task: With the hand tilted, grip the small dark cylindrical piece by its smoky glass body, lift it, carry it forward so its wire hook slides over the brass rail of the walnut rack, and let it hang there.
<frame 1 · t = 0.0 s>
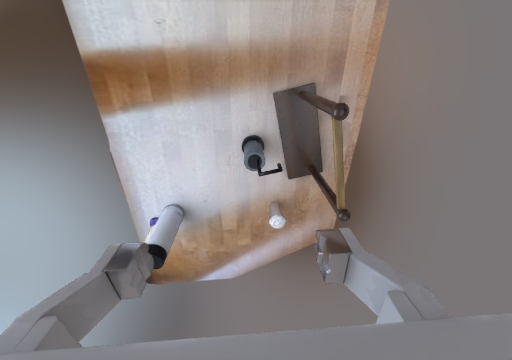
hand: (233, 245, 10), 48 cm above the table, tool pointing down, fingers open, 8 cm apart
rack: (306, 133, 57), on the table
dark cylindrical piece: (252, 146, 58), on the table
toy lamp: (158, 222, 69), on the table
milkshake: (275, 204, 68), on the table
travel mug: (174, 211, 67), on the table
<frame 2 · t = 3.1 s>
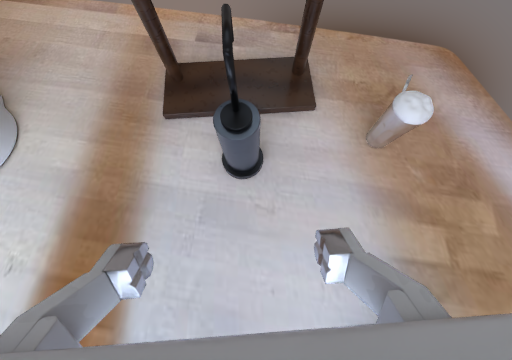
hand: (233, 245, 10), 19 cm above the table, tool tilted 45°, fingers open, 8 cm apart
rack: (238, 79, 36), on the table
dark cylindrical piece: (242, 160, 32), on the table
milkshake: (374, 137, 33), on the table
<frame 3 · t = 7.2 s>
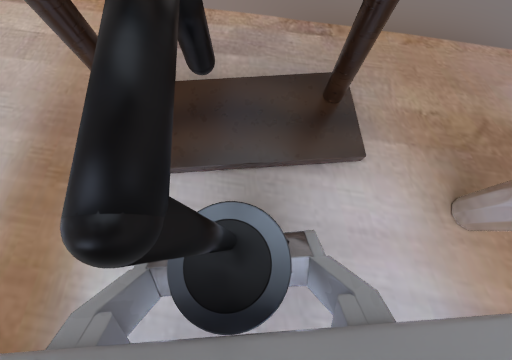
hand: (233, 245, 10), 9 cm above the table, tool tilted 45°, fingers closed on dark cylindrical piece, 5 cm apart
rack: (237, 108, 23), on the table
dark cylindrical piece: (244, 253, 19), on the table, touching gripper
milkshake: (464, 209, 20), on the table
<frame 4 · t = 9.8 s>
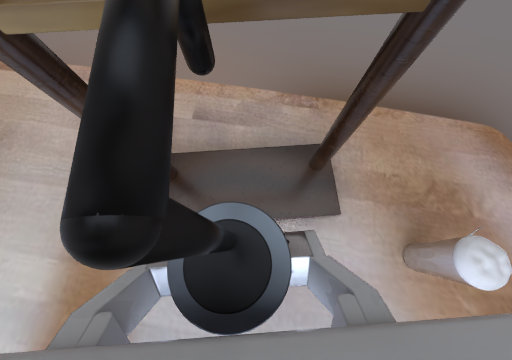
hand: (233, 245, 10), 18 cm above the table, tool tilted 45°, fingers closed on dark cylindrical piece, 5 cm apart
rack: (244, 171, 30), on the table
dark cylindrical piece: (244, 253, 19), point 9 cm above the table, touching gripper
milkshake: (413, 254, 27), on the table
when the fingers open (14 cm above the table, at t = 12.8 s): dark cylindrical piece stays where it is, resting on rack.
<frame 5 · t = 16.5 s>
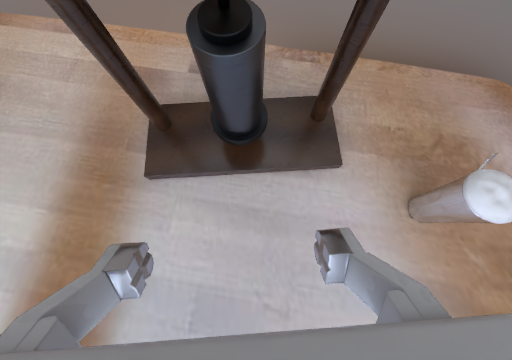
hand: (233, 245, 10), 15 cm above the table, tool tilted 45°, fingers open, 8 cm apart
rack: (242, 124, 29), on the table
dark cylindrical piece: (239, 120, 23), point 5 cm above the table, touching rack
milkshake: (418, 206, 26), on the table
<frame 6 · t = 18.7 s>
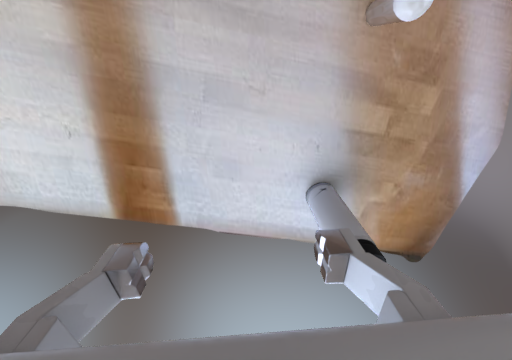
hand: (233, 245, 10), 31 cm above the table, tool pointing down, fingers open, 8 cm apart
milkshake: (375, 10, 32), on the table
travel mug: (319, 194, 46), on the table
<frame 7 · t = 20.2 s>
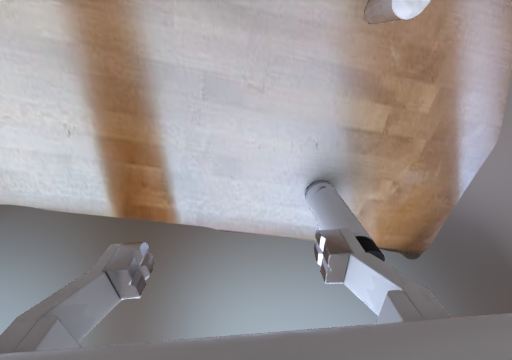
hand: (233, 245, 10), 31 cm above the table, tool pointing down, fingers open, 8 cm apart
milkshake: (374, 8, 32), on the table
travel mug: (318, 192, 46), on the table
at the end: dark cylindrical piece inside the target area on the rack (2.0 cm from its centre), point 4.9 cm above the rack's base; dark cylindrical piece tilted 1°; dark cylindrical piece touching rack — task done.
